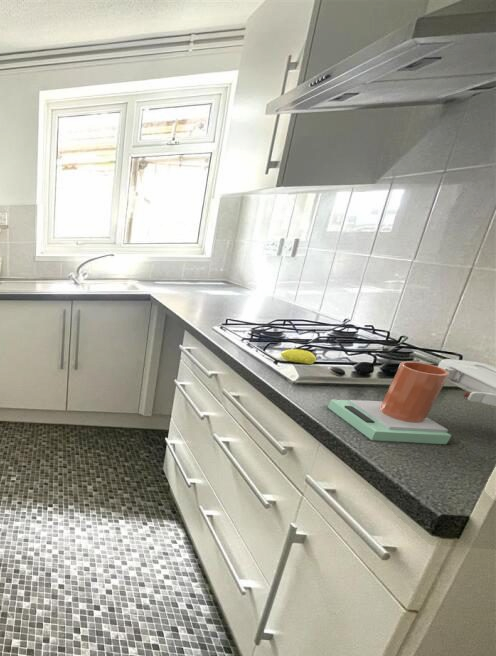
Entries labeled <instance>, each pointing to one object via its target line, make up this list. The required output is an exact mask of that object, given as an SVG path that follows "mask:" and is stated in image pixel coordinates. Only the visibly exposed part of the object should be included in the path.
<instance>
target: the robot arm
mask: <svg viewBox="0 0 496 656" xmlns="http://www.w3.org/2000/svg"><path fill="white" fill-rule="evenodd" d="M437 367H440V368H443V369H445V370H447V371H448V372H449V376H448V378H447V379H446V381H445V382H448V383H450V384H452V385H453V386H456V387H458V388H460V389H461V390H463V391H464V394H463V395H462V398H463V399H464V400H466V401H469V402H470V403H481V404H483V405H488V406H493V407H495V408H496V367H495V366H494V365H490V364H487V363H484V362H479V361H474V360H473V361H471V360H464V359H452V358H444V359H442V360H440V361H439V363H438V365H437Z"/></svg>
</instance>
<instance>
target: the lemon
mask: <svg viewBox="0 0 496 656" xmlns="http://www.w3.org/2000/svg"><path fill="white" fill-rule="evenodd" d="M280 356H281V358H283V359H285V360H286V361H288V362H291V363H296V364H297V363H298V364H304V365H312V364H314V363H315V362H316V361H317V357H316V355H315V354H314V353H313V352H311V351H309V350H304V349H301V348H299V349H295V348H294V349H285V350H283V351H282V352H281V353H280Z"/></svg>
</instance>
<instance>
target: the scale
mask: <svg viewBox="0 0 496 656" xmlns="http://www.w3.org/2000/svg"><path fill="white" fill-rule="evenodd" d="M382 401H383V400H382ZM382 401H381V400H361V399H350V400H348V399H347V400H346V399H330V401H329V404H328V405H327V408H328V409H329V410H331V412H332V413H334V414H336V415H337V416H338V417H340V418H341V419H342V420H344V421H345V422H346V423H347V424H348V425H351V426H352V427H353V428H354V429H356V430H357V431H358V432H360V433H361V434H363V435H364V436H365V437H366V438H368V439H369V440H371V441H379V442H380V441H381V442H398V443H415V444H416V443H417V444H418V443H419V444H435V445H437V444H438V445H447V444H448V443H449V441H450V439H451V438H452V434H450V433H448V431H449V429H448V428H446V427H444V426H443V425H441V424H439V423H437V422H436V421H434V420H433V419H431V418H429V417H428V416H427V417H426V419H425V420H424V421H423V422H419V423H415V422H407V421H402V420H398V419H395V418H392V417H390V416H388V415H386V414H384V413H382V412H381V411H380V406H381V404H382Z"/></svg>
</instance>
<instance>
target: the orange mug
mask: <svg viewBox="0 0 496 656" xmlns="http://www.w3.org/2000/svg"><path fill="white" fill-rule="evenodd" d="M448 376H449V372H448V371H447V370H445V369H443V368H440V367H438V365H434V364H430V363H425V362H421V361H411V360H407V361H401V362H400V363H399V366H398V368H397V370H396V372H395V373H394V375H393V378H392V381H391V382H390V384H389V387H388V388H387V391H386V393H385V395H384V398H383V400H382V404H381V406H380V411H381V412H382V413H384V414H386V415H388V416H390V417H392V418H395V419H398V420H402V421H407V422H415V423H419V422H423V421H424V420H425V419H426V417H427V418H428V415H429V414H430V411H431V409H432V408H433V406H434V404H435V402H436V400H437V399H438V397H439V394H440V392H441V390H442V389H443V387H444V385H445V383H446V382H447V381H446V379H447V378H448Z"/></svg>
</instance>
